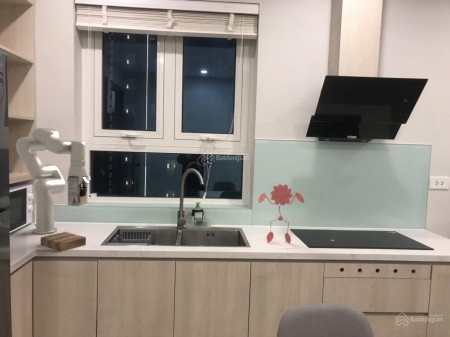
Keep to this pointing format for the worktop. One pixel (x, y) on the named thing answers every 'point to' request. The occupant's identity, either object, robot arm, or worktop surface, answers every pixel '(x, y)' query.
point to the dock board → (63, 241)
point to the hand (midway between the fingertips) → (77, 195)
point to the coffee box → (75, 192)
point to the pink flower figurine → (282, 197)
